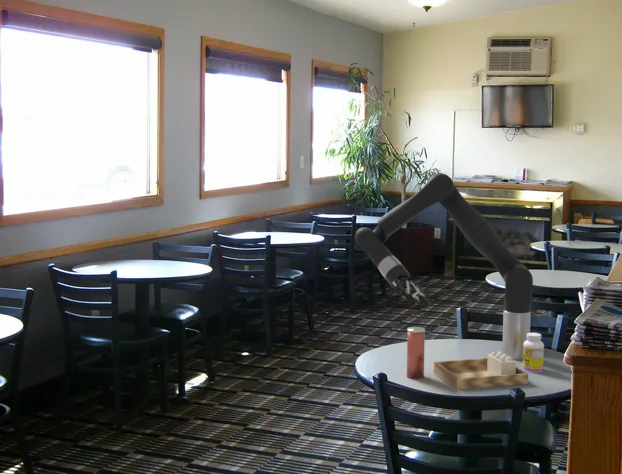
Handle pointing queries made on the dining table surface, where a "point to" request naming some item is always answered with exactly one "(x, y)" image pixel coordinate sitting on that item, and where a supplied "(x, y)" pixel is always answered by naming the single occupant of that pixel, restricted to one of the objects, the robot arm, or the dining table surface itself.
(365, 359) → the dining table surface
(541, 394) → the dining table surface
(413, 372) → the coffee tin
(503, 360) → the white toy brick
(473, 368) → the tray
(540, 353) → the supplement bottle
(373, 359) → the dining table surface
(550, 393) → the dining table surface
